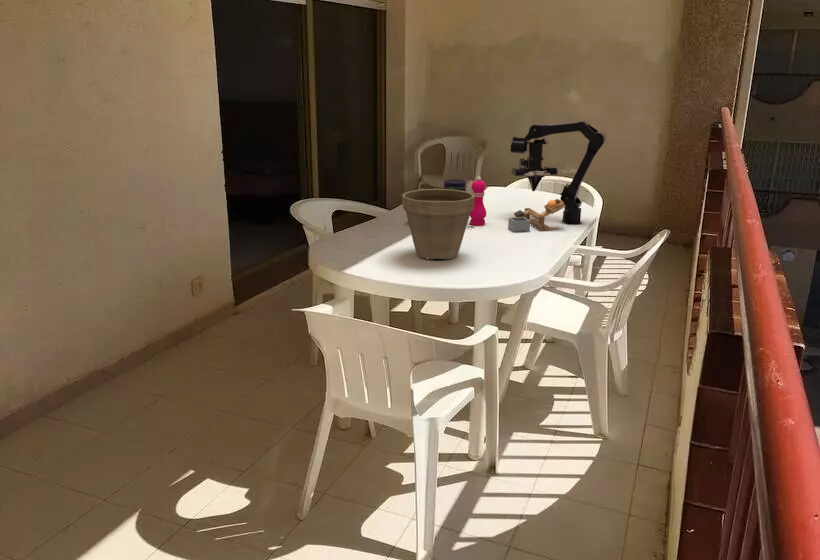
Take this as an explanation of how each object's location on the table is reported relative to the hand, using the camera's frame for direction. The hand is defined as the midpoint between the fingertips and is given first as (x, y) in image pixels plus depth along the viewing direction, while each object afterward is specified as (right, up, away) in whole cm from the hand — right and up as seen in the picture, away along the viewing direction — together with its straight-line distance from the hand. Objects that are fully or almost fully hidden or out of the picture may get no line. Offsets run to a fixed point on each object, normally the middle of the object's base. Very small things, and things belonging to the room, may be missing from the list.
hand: (533, 191), depth 284 cm
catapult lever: (+1, -10, -10) cm, 15 cm away
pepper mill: (-24, -15, -6) cm, 29 cm away
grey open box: (-9, -18, -15) cm, 25 cm away
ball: (+5, -7, -16) cm, 18 cm away
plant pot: (-43, -29, -49) cm, 71 cm away
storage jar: (-33, -9, +11) cm, 36 cm away
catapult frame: (0, -15, -8) cm, 17 cm away
